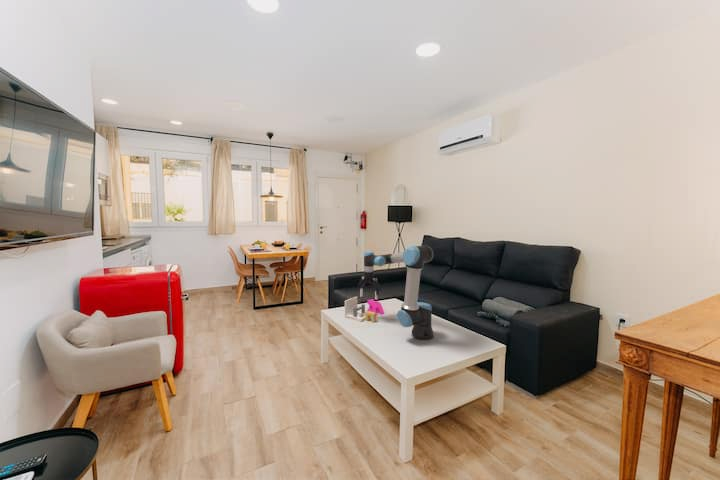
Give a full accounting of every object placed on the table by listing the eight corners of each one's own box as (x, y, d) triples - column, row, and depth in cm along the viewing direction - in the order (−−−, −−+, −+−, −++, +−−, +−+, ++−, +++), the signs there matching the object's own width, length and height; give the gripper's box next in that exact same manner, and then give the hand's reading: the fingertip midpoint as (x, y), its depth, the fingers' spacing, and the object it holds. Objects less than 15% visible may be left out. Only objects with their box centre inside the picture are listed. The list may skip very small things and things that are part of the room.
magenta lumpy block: (367, 311, 255) (367, 299, 254) (377, 309, 259) (377, 298, 258) (373, 315, 244) (373, 303, 243) (384, 313, 248) (384, 302, 247)
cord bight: (376, 321, 231) (376, 312, 230) (373, 322, 228) (373, 314, 227) (367, 319, 235) (367, 310, 235) (365, 320, 233) (365, 312, 232)
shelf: (372, 316, 243) (372, 299, 241) (361, 321, 230) (361, 304, 229) (356, 312, 253) (356, 296, 252) (344, 317, 240) (344, 300, 239)
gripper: (385, 272, 223) (385, 299, 225) (358, 268, 237) (358, 294, 238) (380, 273, 217) (380, 301, 219) (352, 270, 230) (353, 296, 232)
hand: (368, 297), depth 229 cm, fingers open, 13 cm apart
